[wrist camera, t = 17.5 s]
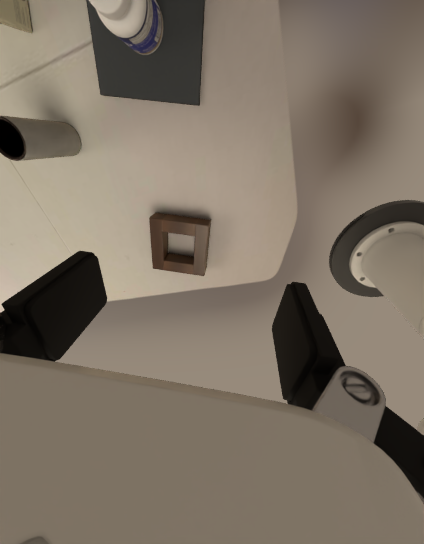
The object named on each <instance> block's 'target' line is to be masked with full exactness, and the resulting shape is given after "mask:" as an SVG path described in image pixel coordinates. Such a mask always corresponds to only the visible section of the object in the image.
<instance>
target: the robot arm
mask: <svg viewBox="0 0 424 544" xmlns="http://www.w3.org/2000/svg"><path fill="white" fill-rule="evenodd" d="M349 267H350V271H351V273H352V275H353V276H354V277H355V279H356V280H357V281H358V282H360V283H362V284H363V285H366V286H369V287H374V288H377V289H378V290H379V291H380V292H381V293H382V294H383V295H384V296H385V297H386V299H387V300H388V301H389V302H390V303H391V304H392V305H393V306H394V307H395V309H396V310H397V311H398V312H399V313H400V314H401V315H402V316H403V317H404V318H405V320H406V321H408V323H409V324H410V325H411V326H412V327H413V328H414V329H415V330H416V332H417V333H418V334H419V335H420V336H421V337H422V338H423V339H424V225H422V224H419V223H416V222H410V221H401V222H394V223H390V224H387V225H384V226H381V227H379V228H377V229H375V230H373V231H372V232H370V233H369V234H367V235H366V236H365V237H364V238H363V239H362V240H360V242H359V243H358V244H357V245H356V246H355V248H354V250H353V252H352V254H351V257H350V261H349ZM106 302H107V296H106V291H105V287H104V283H103V278H102V274H101V270H100V266H99V261H98V258H97V256H95V255H94V253H92V252H85V251H79V252H77V253H75V254H74V255H72V256H71V257H69V258H68V259H67V260H65V261H64V262H62V263H61V264H59V265H58V266H56V267H55V268H53V269H52V270H50V271H49V272H47V273H46V274H45V275H43V276H42V277H40V278H39V279H37V280H36V281H34V282H33V283H31V284H30V285H28V286H27V287H25V288H24V289H23V290H21V291H20V292H18V293H17V294H15V295H14V296H12V297H11V298H9V299H8V300H6V301H5V302H3V303H2V306H3V308H4V309H5V310H4V311H3V312H1V313H0V544H424V418H423V419H422V420H421V421H420V423H419V425H418V427H417V430H416V429H415V428H413V427H412V426H411V425H409V424H408V423H407V422H406V421H404V420H403V419H402V418H400V417H399V416H398V415H397V414H395V413H394V412H393V411H391V410H390V409H389V408H388V407H386V406H385V405H386V398H385V395H384V392H383V391H382V389H381V388H380V386H379V385H378V384H377V383H376V382H375V380H374V379H373V378H371V377H370V376H369V375H368V374H366V373H365V372H363V371H361V370H359V369H357V368H354V367H350V366H346V365H345V363H344V361H343V359H342V357H341V355H340V353H339V350H338V348H337V346H336V344H335V342H334V339H333V337H332V335H331V333H330V331H329V329H328V326H327V324H326V322H325V320H324V318H323V316H322V315H321V314H319V312H318V310H317V308H316V305H315V303H314V301H313V299H312V297H311V294H310V292H309V290H308V288H307V285H306V284H304V283H298V282H292V283H291V284H287V286H286V289H285V291H284V295H283V297H282V300H281V302H280V305H279V308H278V311H277V314H276V317H275V319H274V322H273V325H272V332H273V339H274V345H275V351H276V358H277V364H278V371H279V377H280V383H281V389H282V395H283V399H284V400H287V402H288V404H286V403H281V402H276V401H272V400H266V399H261V398H257V397H251V396H246V395H241V394H236V393H230V392H225V391H219V390H214V389H208V388H203V387H197V386H192V385H186V384H181V383H175V382H169V381H164V380H158V379H152V378H147V377H141V376H135V375H129V374H124V373H118V372H112V371H106V370H100V369H95V368H89V367H83V366H77V365H71V364H65V363H59V362H55V361H56V360H59V359H60V358H61V357H62V356H63V355H64V354H65V352H66V351H67V350H68V349H69V348H70V346H71V345H72V344H73V343H74V342H75V340H76V339H77V338H78V337H79V336H80V334H81V333H82V332H83V331H84V330H85V328H86V327H87V326H88V325H89V324H90V322H91V321H92V320H93V319H94V318H95V316H96V315H97V314H98V313H99V311H100V310H101V309H102V308H103V307H104V305H105V304H106Z"/></svg>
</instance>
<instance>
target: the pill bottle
mask: <svg viewBox="0 0 424 544" xmlns="http://www.w3.org/2000/svg"><path fill="white" fill-rule="evenodd" d="M89 1H90V3H91V4H92V5H93V6H94V7H95V8H96V11H97V13H98V15H99V17H100V19H101V21H102V22H103V24H104V25H105V26H106V27H107V28H108V29H109V30H110V31H111V32H112V33H113V34H114V35H116V36H117V37H118V38H119V39H120V40H122V41H123V42H124V43H125V44H127V45H128V46H129V47H130V48H132V49H133V50H134V51H135V52H137V53H139V54H142V55H148V54H151V53H153V52H154V51H155V50H156V49H157V48H158V47H159V45H160V43H161V40H162V36H163V18H162V14H161V11H160V8H159V6H158V4H157V2H156V0H89Z"/></svg>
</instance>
